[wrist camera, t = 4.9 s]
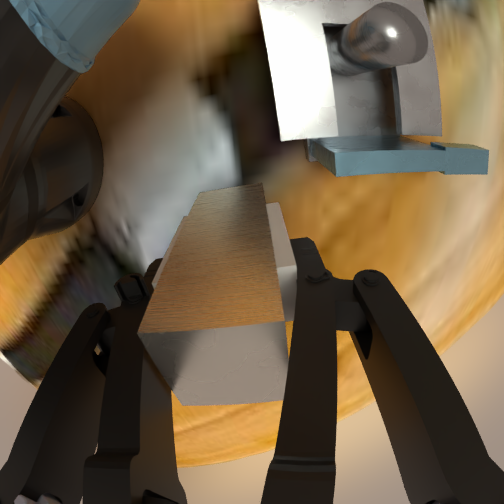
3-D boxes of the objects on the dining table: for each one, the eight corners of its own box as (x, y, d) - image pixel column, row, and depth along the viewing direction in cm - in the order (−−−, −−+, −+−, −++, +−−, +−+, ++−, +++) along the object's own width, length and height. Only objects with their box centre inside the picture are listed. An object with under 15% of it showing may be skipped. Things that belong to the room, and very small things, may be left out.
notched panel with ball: (279, 161, 24) (298, 199, 15) (252, -4, 16) (252, -66, 7) (430, 153, 23) (502, 185, 14) (413, 6, 15) (479, -19, 6)
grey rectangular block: (212, 247, 19) (182, 405, 9) (199, 192, 17) (136, 333, 7) (270, 239, 19) (292, 398, 9) (262, 182, 17) (284, 320, 7)
